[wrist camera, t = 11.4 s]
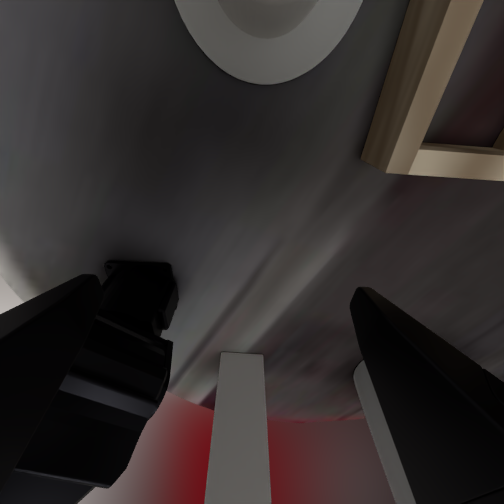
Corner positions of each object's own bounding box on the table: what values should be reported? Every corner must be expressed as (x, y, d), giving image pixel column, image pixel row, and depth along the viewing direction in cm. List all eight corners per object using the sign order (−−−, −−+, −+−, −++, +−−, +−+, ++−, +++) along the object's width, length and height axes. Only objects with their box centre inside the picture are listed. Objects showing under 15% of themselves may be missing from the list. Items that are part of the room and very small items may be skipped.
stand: (360, 159, 18) (385, 172, 15) (433, -75, 12) (504, -142, 9) (497, 168, 19) (551, 184, 15) (636, -50, 12) (778, -104, 9)
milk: (263, 353, 33) (284, 681, 14) (257, 376, 36) (268, 666, 18) (220, 351, 32) (184, 688, 14) (218, 374, 35) (186, 671, 17)
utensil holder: (339, 354, 33) (412, 558, 18) (455, 327, 30) (652, 546, 15) (355, 399, 40) (415, 569, 26) (448, 381, 37) (576, 562, 23)
